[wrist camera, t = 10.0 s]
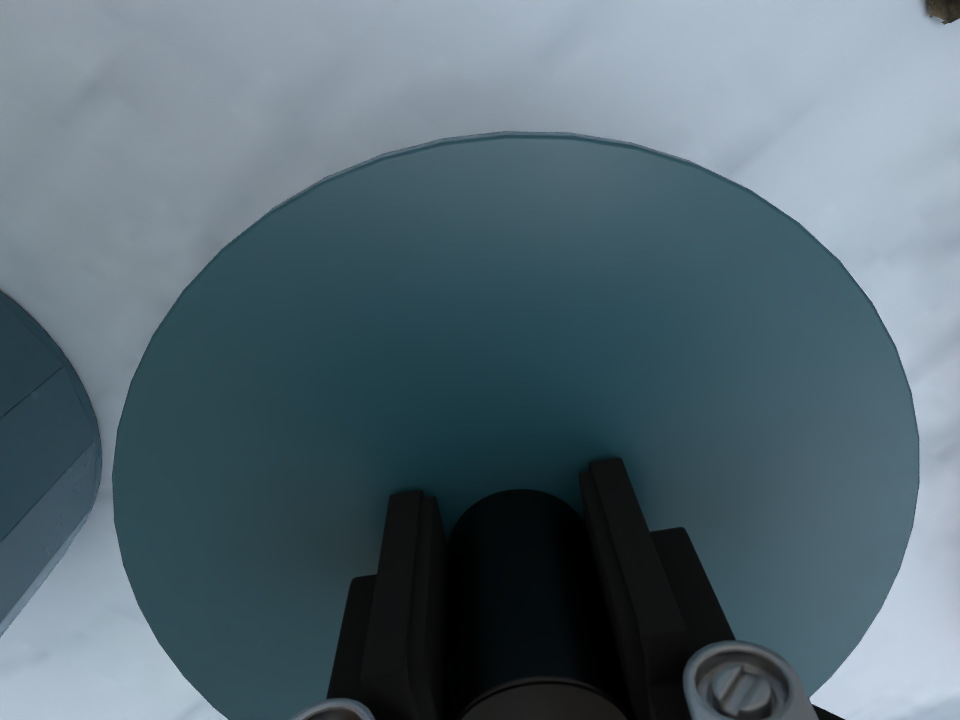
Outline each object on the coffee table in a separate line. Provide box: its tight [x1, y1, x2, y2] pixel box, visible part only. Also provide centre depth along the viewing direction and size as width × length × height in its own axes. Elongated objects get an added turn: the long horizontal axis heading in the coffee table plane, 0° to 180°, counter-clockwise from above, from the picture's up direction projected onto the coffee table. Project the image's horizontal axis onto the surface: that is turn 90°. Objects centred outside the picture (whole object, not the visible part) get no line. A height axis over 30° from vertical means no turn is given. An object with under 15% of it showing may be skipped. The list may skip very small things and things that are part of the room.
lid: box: [112, 131, 919, 720], centre depth 11 cm, size 14×14×5 cm
